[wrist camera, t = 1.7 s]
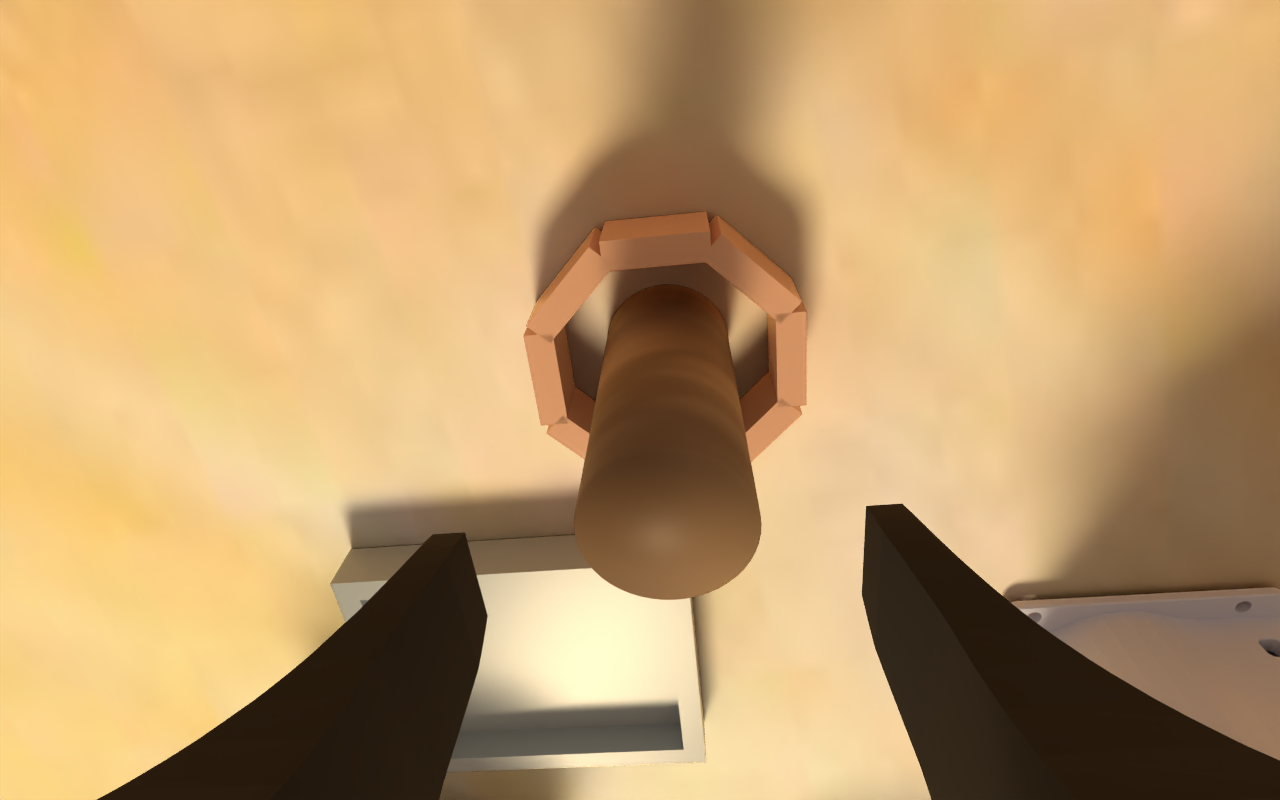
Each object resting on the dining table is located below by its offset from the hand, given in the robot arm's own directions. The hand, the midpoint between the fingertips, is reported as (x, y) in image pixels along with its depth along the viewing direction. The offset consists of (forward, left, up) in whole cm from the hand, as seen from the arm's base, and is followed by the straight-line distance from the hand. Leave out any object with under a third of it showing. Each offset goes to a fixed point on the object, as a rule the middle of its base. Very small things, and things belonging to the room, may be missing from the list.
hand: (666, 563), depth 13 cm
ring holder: (0, 0, -10) cm, 10 cm away
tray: (+6, +12, -10) cm, 17 cm away
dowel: (0, 0, -10) cm, 10 cm away
